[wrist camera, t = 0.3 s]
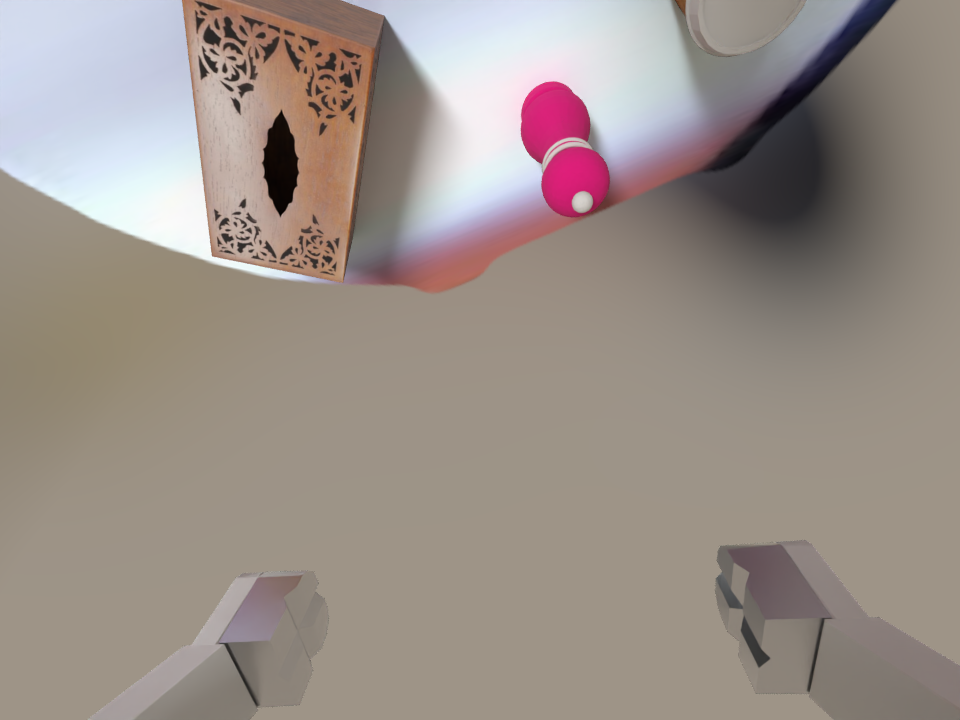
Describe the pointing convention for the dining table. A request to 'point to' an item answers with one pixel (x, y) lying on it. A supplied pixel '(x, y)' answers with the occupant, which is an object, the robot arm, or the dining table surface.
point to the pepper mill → (563, 150)
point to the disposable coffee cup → (737, 23)
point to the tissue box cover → (282, 126)
